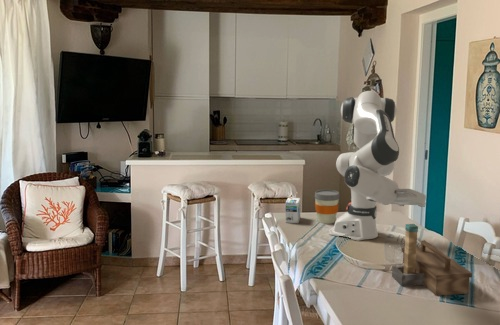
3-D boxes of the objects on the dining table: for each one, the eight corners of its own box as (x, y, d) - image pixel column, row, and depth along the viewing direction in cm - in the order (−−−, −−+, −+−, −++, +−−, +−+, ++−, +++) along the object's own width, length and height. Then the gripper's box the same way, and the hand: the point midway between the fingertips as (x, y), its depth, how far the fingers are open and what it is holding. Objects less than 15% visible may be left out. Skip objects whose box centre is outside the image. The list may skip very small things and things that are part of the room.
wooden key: (405, 283, 179) (408, 227, 175) (400, 278, 183) (403, 223, 180) (417, 282, 180) (420, 226, 176) (411, 277, 184) (414, 223, 180)
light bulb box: (298, 223, 251) (298, 202, 249) (285, 222, 252) (285, 202, 250) (300, 217, 261) (300, 197, 259) (287, 216, 262) (287, 197, 260)
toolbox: (413, 297, 168) (415, 265, 166) (382, 267, 194) (383, 238, 192) (470, 293, 170) (473, 262, 168) (432, 264, 197) (433, 236, 195)
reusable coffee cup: (313, 217, 261) (313, 189, 258) (337, 217, 261) (337, 189, 258) (315, 224, 249) (315, 195, 246) (340, 224, 248) (341, 195, 246)
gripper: (410, 182, 161) (439, 196, 167) (367, 182, 179) (394, 195, 185) (406, 200, 159) (434, 214, 165) (363, 199, 177) (390, 211, 183)
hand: (413, 204), depth 175 cm, fingers open, 8 cm apart
